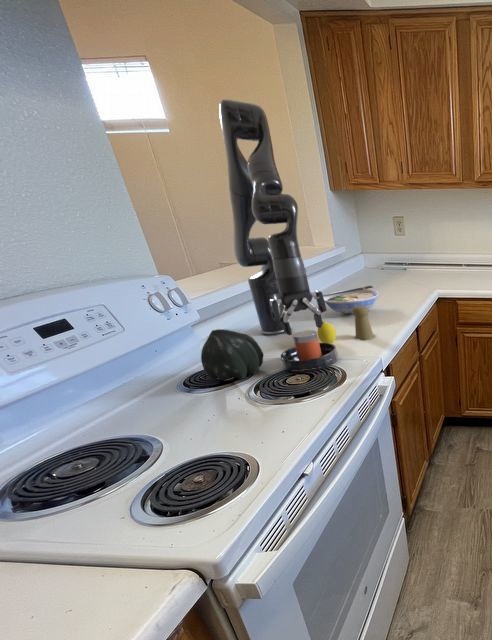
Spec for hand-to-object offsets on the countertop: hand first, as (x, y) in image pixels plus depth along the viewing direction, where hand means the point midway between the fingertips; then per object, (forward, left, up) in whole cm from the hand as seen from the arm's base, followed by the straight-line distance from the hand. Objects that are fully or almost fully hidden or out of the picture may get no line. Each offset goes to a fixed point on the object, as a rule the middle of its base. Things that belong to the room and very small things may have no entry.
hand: (304, 330), depth 120 cm
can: (0, 0, -10) cm, 10 cm away
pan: (0, 0, -10) cm, 10 cm away
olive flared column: (-10, +23, -11) cm, 27 cm away
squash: (-8, -18, -11) cm, 22 cm away
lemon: (-12, +11, -11) cm, 19 cm away
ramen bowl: (-44, +37, -11) cm, 59 cm away
